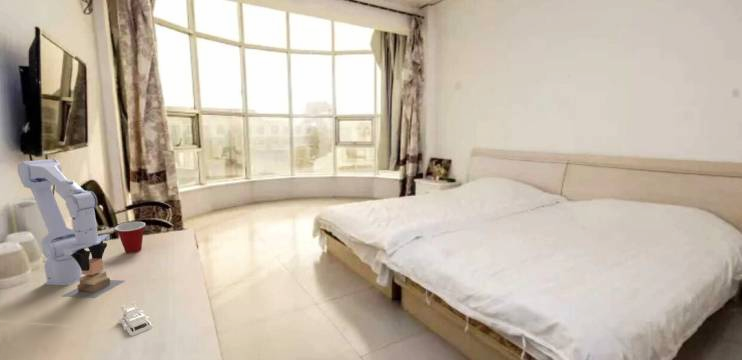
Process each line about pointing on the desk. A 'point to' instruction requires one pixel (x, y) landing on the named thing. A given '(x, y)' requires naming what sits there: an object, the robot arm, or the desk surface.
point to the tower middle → (93, 278)
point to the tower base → (94, 286)
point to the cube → (94, 266)
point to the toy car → (134, 319)
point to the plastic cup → (131, 236)
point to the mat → (93, 295)
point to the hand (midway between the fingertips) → (91, 267)
